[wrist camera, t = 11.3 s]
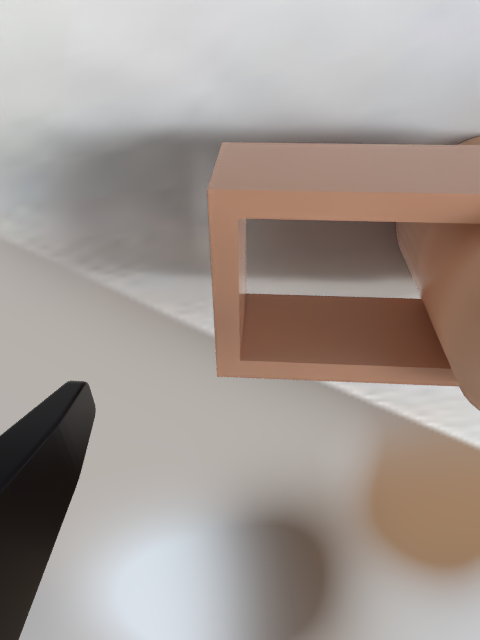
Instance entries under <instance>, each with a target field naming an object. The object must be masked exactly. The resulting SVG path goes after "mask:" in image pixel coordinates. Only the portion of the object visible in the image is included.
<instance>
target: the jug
mask: <svg viewBox="0 0 480 640" xmlns="http://www.w3.org/2000/svg"><path fill="white" fill-rule="evenodd" d="M207 196H208V214H209V233H210V251H211V270H212V289H213V307H214V326H215V343H216V362H217V376H218V377H219V376H220V377H243V378H268V379H293V380H316V381H340V382H365V383H389V384H414V385H438V386H459V387H460V389H461V391H462V393H463V394H464V396H465V397H466V398H467V399H468V401H469V402H470V403H471V404H472V405H474V406H475V407H476V408H477V409H478V410H480V136H478V137H475V138H472V139H469V140H466V141H464V142H462V143H459V144H457V145H419V144H334V143H250V142H222V144H221V147H220V150H219V153H218V156H217V160H216V163H215V166H214V169H213V172H212V176H211V179H210V182H209V185H208V188H207ZM246 219H283V220H330V221H377V222H397V223H396V234H397V240H398V244H399V247H400V250H401V252H402V254H403V257H404V259H405V261H406V264H407V266H408V268H409V271H410V273H411V275H412V278H413V280H414V282H415V285H416V287H417V289H418V292H419V294H420V296H421V299H405V298H372V297H339V296H307V295H274V294H246Z"/></svg>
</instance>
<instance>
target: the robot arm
mask: <svg viewBox="0 0 480 640" xmlns="http://www.w3.org/2000/svg"><path fill="white" fill-rule="evenodd" d="M94 418H95V403H94V400H93V397H92V394H91V390H90V387H89V385H88V383H87V382H84V381H68V382H67V383H65V384H64V385H63V386H61V387H60V388H59V389H58V390H57V391H55V392H54V393H53V394H52V395H50V396H49V397H48V398H46V399H45V400H44V401H43V402H42V403H40V404H39V405H38V406H37V407H35V408H34V409H33V410H32V411H30V412H29V413H28V414H27V415H25V416H24V417H23V418H22V419H20V420H19V421H18V422H17V423H16V424H14V425H13V426H12V427H11V428H9V429H8V430H7V431H6V432H4V433H3V434H2V435H1V436H0V640H19V637H20V634H21V632H22V629H23V626H24V624H25V621H26V618H27V616H28V613H29V610H30V608H31V605H32V603H33V600H34V597H35V595H36V592H37V589H38V586H39V584H40V581H41V579H42V576H43V573H44V571H45V568H46V565H47V562H48V560H49V557H50V554H51V552H52V549H53V547H54V544H55V541H56V539H57V536H58V533H59V531H60V528H61V525H62V523H63V520H64V517H65V515H66V512H67V509H68V507H69V504H70V501H71V499H72V496H73V494H74V491H75V488H76V485H77V482H78V479H79V476H80V473H81V469H82V465H83V461H84V457H85V454H86V449H87V446H88V442H89V437H90V433H91V430H92V426H93V422H94Z"/></svg>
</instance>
